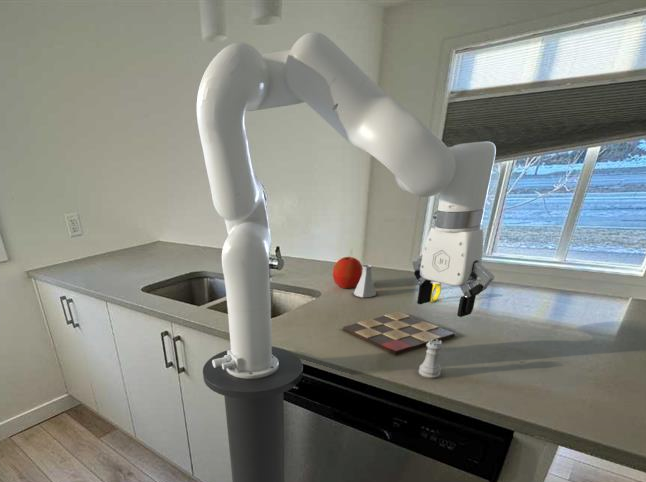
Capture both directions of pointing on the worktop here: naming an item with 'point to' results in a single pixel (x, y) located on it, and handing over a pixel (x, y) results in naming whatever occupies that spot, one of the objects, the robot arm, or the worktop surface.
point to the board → (397, 332)
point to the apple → (347, 272)
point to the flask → (365, 283)
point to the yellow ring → (438, 290)
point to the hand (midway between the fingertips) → (442, 308)
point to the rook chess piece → (431, 360)
